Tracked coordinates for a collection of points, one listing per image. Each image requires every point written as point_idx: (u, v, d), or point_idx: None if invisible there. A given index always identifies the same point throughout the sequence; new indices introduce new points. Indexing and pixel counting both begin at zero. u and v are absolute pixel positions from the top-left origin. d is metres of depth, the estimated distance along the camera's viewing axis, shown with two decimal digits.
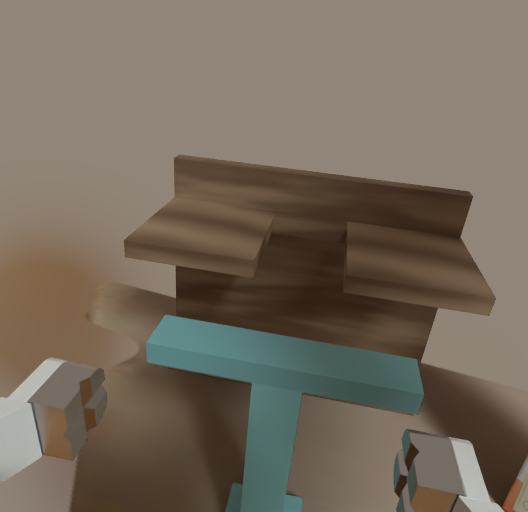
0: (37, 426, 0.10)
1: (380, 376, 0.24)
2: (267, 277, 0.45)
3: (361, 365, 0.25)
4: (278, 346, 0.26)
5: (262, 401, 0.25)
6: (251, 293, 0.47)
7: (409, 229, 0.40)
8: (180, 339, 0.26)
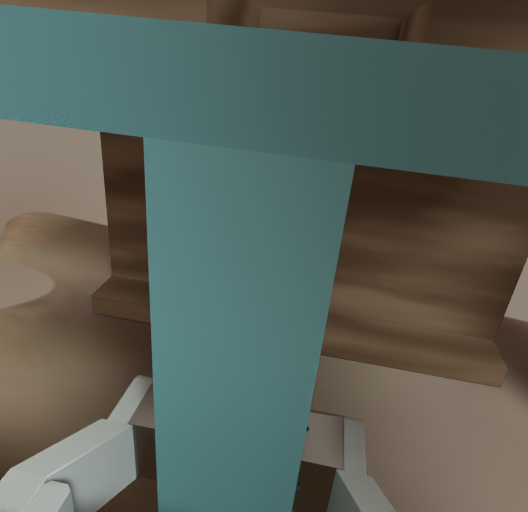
0: (135, 448, 0.10)
1: None
2: None
3: None
4: None
5: (193, 229, 0.07)
6: None
7: None
8: None
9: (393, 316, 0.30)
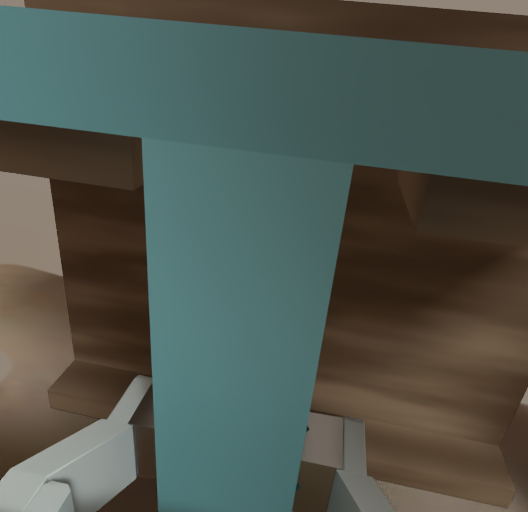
0: (135, 448, 0.10)
1: None
2: None
3: None
4: None
5: (191, 230, 0.07)
6: None
7: None
8: None
9: (386, 416, 0.27)
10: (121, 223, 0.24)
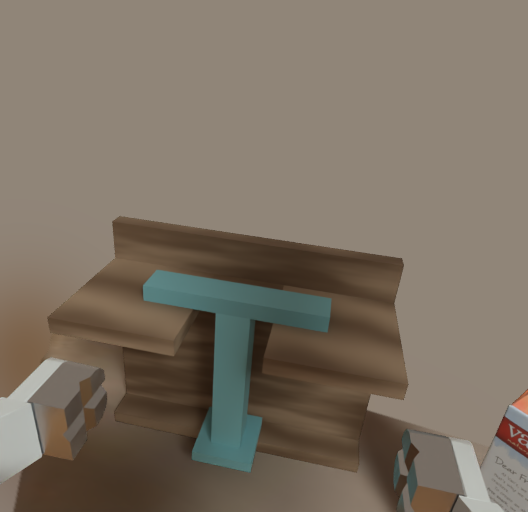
0: (37, 426, 0.10)
1: (302, 307, 0.35)
2: (210, 335, 0.46)
3: (291, 300, 0.36)
4: (235, 289, 0.37)
5: (223, 327, 0.37)
6: (195, 349, 0.47)
7: (344, 294, 0.41)
8: (166, 284, 0.37)
9: (298, 424, 0.49)
10: None
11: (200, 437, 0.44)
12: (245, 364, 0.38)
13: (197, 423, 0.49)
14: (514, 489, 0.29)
